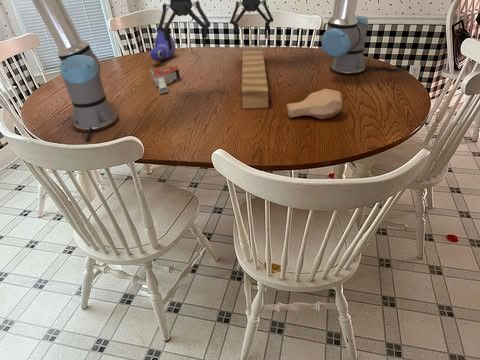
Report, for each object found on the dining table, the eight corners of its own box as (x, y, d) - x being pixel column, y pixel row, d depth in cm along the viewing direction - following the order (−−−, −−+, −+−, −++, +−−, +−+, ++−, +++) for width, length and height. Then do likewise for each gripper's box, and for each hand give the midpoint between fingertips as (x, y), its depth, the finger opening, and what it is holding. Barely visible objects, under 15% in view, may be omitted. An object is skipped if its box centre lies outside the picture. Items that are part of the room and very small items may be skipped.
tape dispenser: (164, 98, 152) (192, 79, 164) (161, 86, 148) (191, 68, 161) (134, 89, 159) (163, 72, 172) (131, 78, 156) (161, 61, 168)
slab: (268, 107, 136) (268, 90, 132) (242, 108, 136) (241, 91, 132) (262, 59, 183) (262, 46, 179) (243, 60, 183) (242, 47, 179)
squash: (346, 119, 125) (347, 98, 118) (290, 129, 126) (288, 109, 120) (339, 102, 132) (339, 81, 126) (285, 111, 134) (283, 91, 128)
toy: (163, 61, 202) (144, 66, 180) (159, 29, 195) (138, 31, 173) (180, 60, 200) (162, 66, 177) (176, 28, 193) (156, 29, 171)
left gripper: (212, -17, 132) (218, 42, 145) (146, -11, 133) (158, 47, 146) (212, -14, 126) (218, 47, 139) (142, -8, 127) (155, 52, 140)
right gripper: (277, -15, 161) (277, 34, 173) (223, -12, 162) (226, 37, 174) (279, -12, 155) (278, 39, 167) (222, -9, 156) (225, 41, 168)
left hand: (187, 47), depth 142 cm, fingers open, 13 cm apart
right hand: (252, 38), depth 171 cm, fingers open, 13 cm apart
